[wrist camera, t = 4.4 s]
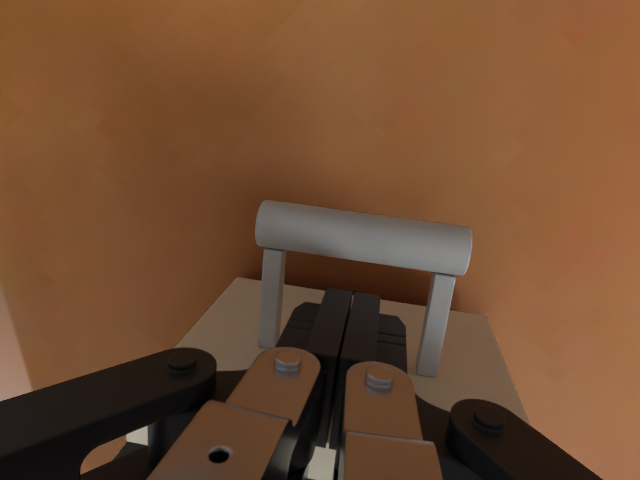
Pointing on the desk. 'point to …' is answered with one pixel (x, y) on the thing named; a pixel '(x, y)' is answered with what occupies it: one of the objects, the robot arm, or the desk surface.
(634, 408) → the desk surface
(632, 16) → the desk surface
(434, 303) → the drawer
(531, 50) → the desk surface
